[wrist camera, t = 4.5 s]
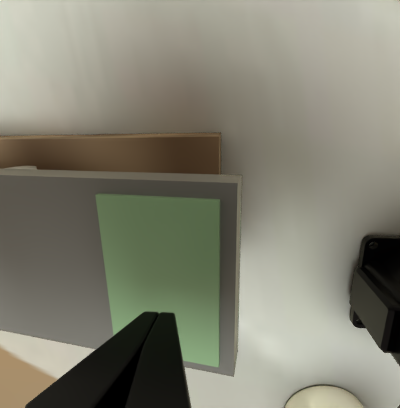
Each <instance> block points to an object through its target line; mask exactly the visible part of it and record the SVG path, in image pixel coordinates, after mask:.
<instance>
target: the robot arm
mask: <svg viewBox="0 0 400 408" xmlns="http://www.w3.org/2000/svg"><path fill="white" fill-rule="evenodd" d="M371 242H375V243H374V245H373V246H370V247H369V244H370V243H371ZM350 305H351V306H352V307H351V314H350V320H351V322H352V323H353V325H354V326H355V327H357V328H366V329H367V330H368V332H369V333H370V335H371V336H372V338H373V339H374V341H375V342H376V344H377V345H378V347H379V348H380V349H381V350H382V351H383V352H384V353H391V354H392V356H393V357H394V359H395V360H396V362H397V363H398V364H399V366H400V236H380V235H371V236H367V237H365V238H364V239H363V241H362V245H361V251H360V257H359V264H358V267H357V268H356V269H355V271H354V276H353V283H352V289H351V296H350ZM358 319H360V320H359V321H357V320H358ZM25 408H191V403H190V397H189V391H188V386H187V380H186V374H185V368H184V363H183V357H182V351H181V346H180V340H179V334H178V328H177V323H176V317H175V314H174V313H172V312H161V313H158V312H152V311H145V312H143V313H142V314H140V315H139V316H138V317H136V318H135V319H134V320H133V321H131V322H130V323H129V324H128V325H126V326H125V327H124V328H123V329H121V330H120V331H119V332H117V333H116V334H115V335H114V336H112V337H111V338H110V339H109V340H107V341H106V342H105V343H104V344H102V345H101V346H100V347H99V348H97V349H96V350H95V351H93V352H92V353H91V354H90V355H88V356H87V357H86V358H85V359H83V360H82V361H81V362H80V363H78V364H77V365H76V366H75V367H73V368H72V369H71V370H69V371H68V372H67V373H66V374H64V375H63V376H62V377H61V378H59V379H58V380H57V381H56V382H54V383H53V384H52V385H50V387H48V388H47V389H46V390H44V391H43V392H42V393H40V394H39V395H38V396H37V397H35V398H34V399H33V400H32V401H30V402H29V403H28V404H27V405H26V406H25ZM397 408H400V405H399V406H398V407H397Z"/></svg>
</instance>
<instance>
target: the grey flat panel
mask: <svg viewBox="0 0 400 408" xmlns="http://www.w3.org/2000/svg"><path fill="white" fill-rule="evenodd" d="M241 197H242V175H217V174H181V173H144V172H108V171H72V170H37V168H36V166H17V167H9V168H4V169H0V330H2V331H7V332H12V333H17V334H22V335H27V336H32V337H37V338H42V339H47V340H52V341H57V342H62V343H67V344H72V345H77V346H82V347H87V348H92V349H97V348H99V347H100V346H101V345H102V344H104V343H105V342H106V341H107V340H109V339H110V338H111V337H112V336H114V335H115V334H116V333H117V332H119V331H120V330H121V329H123V328H124V327H125V326H126V325H128V324H129V323H130V322H131V321H133V320H134V319H135V318H136V317H138V316H139V315H140V314H142V313H143V312H145V311H152V312H158V313H161V312H172V313H174V314H175V317H176V323H177V328H178V334H179V340H180V346H181V351H182V357H183V363H184V367H187V368H192V369H197V370H202V371H207V372H212V373H217V374H222V375H227V376H232V377H234V372H235V365H236V359H237V352H238V320H239V279H240V238H241Z"/></svg>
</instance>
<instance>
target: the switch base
mask: <svg viewBox="0 0 400 408" xmlns="http://www.w3.org/2000/svg"><path fill="white" fill-rule="evenodd" d="M17 166H36V168H37V170H72V171H108V172H144V173H181V174H217V175H221V133H164V134H99V135H33V136H0V169H4V168H9V167H17Z"/></svg>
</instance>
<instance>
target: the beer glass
mask: <svg viewBox="0 0 400 408" xmlns="http://www.w3.org/2000/svg"><path fill="white" fill-rule="evenodd" d="M285 408H363V406H362V404H361V403H360V401H359V400H358V399H357V398H356V397H355V396H354V395H353V394H351V393H350V392H348V391H346V390H344V389H341V388H338V387H334V386H313V387H309V388H306V389H303V390H301V391H299V392H297V393H296V394H295V395H293V396H292V397H291V398H290V399H289V401H288V402H287V404H286V406H285Z"/></svg>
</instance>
